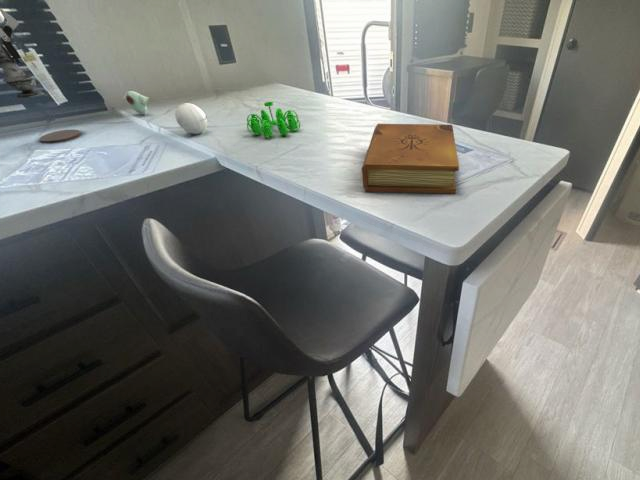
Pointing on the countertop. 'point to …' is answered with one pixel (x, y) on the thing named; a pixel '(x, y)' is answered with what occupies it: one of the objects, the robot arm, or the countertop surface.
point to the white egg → (191, 118)
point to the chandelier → (272, 122)
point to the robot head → (136, 101)
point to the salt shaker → (17, 76)
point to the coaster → (60, 136)
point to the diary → (411, 159)
